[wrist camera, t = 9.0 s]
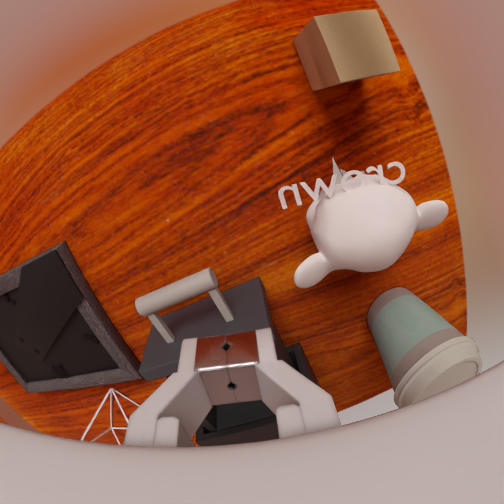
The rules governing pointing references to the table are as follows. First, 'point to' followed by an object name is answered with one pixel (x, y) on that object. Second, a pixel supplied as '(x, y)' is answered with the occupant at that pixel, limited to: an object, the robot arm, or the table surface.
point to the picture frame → (58, 328)
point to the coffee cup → (419, 347)
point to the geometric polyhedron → (110, 414)
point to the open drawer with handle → (206, 333)
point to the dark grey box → (261, 428)
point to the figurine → (360, 222)
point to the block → (345, 49)
